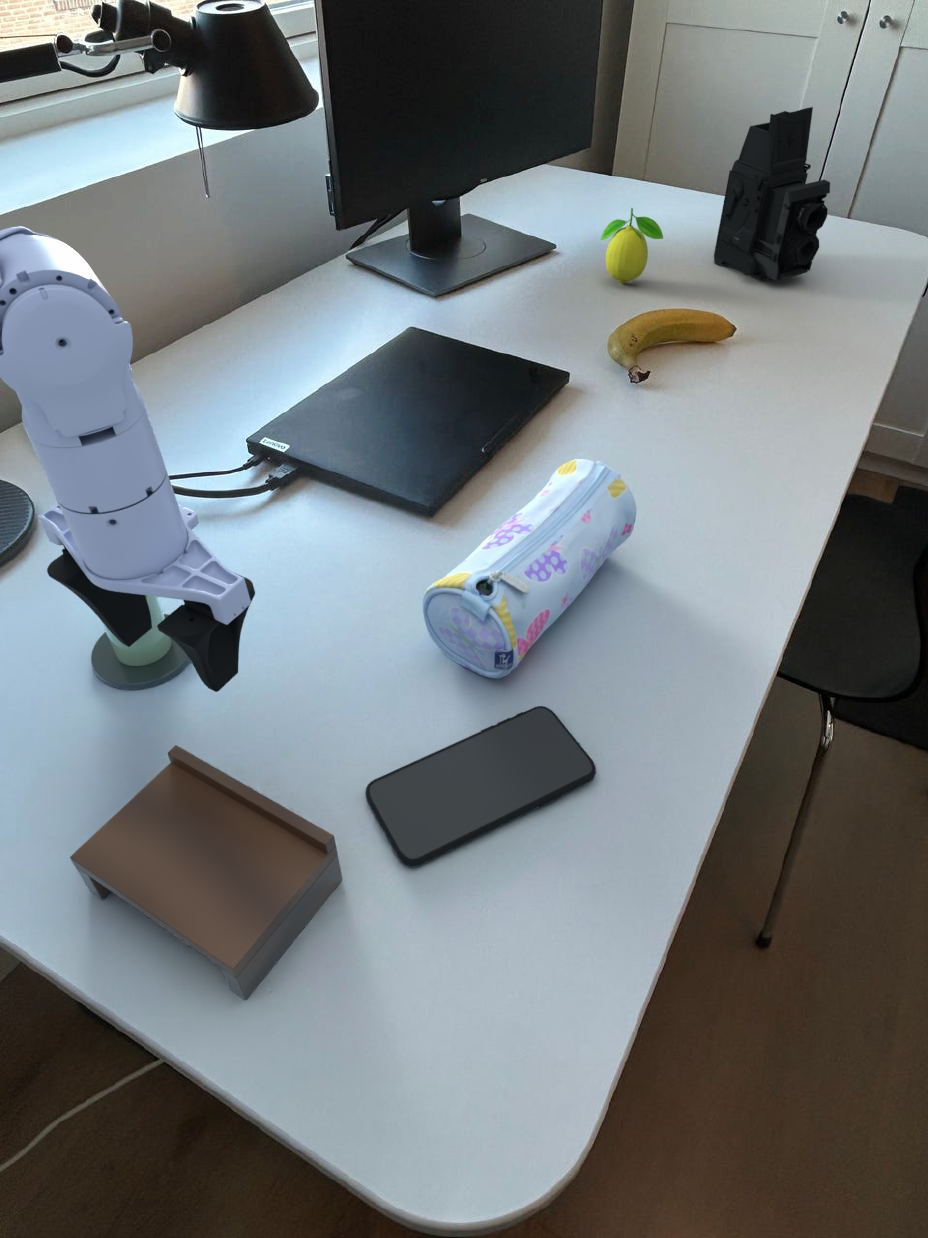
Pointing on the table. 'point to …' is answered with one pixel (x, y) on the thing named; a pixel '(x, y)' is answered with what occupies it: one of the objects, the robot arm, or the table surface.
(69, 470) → the robot arm
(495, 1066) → the table surface
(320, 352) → the table surface
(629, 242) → the lemon
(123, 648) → the shaker
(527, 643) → the pencil case
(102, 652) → the coaster
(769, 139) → the camera
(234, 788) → the shelf
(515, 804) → the smartphone
